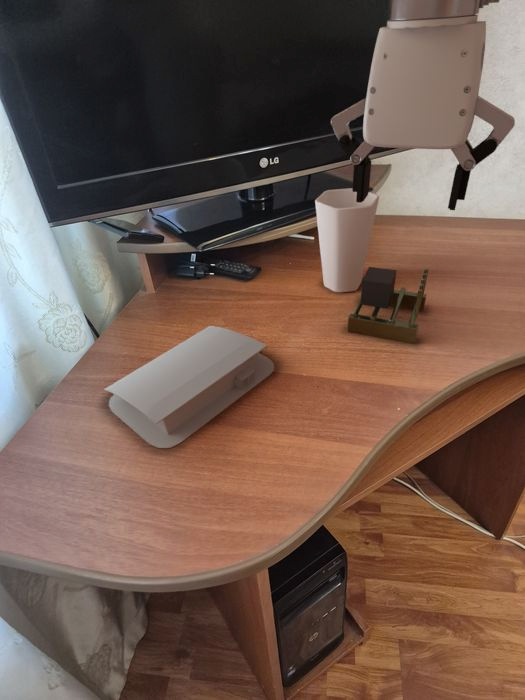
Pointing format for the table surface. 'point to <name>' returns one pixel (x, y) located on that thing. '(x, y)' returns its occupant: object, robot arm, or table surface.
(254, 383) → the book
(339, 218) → the cup
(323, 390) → the table surface
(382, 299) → the box
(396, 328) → the rack
